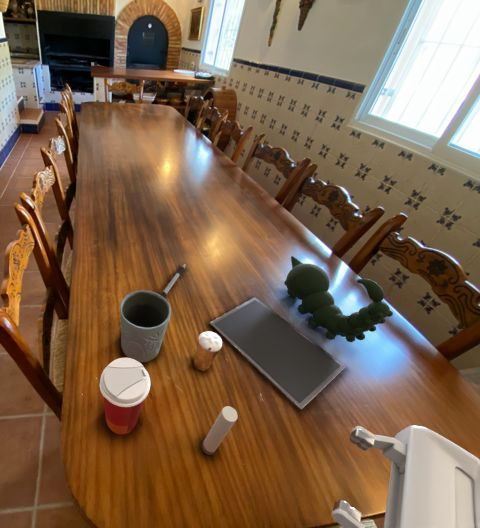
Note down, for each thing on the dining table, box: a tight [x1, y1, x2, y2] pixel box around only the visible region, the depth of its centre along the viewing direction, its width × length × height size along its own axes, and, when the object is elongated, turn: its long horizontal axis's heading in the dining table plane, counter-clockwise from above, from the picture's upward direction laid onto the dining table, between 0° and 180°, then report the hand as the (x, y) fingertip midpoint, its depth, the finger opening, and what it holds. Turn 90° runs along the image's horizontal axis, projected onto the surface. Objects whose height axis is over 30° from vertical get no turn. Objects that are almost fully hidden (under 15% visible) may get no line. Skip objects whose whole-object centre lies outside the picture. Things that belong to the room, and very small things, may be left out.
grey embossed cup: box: [119, 290, 172, 363], centre depth 62 cm, size 10×10×12 cm
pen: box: [160, 263, 186, 298], centre depth 82 cm, size 1×16×1 cm, turn 150°
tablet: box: [208, 296, 346, 412], centre depth 67 cm, size 24×17×1 cm
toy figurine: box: [283, 255, 394, 343], centre depth 70 cm, size 9×19×25 cm
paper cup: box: [98, 357, 151, 435], centre depth 49 cm, size 8×8×14 cm
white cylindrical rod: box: [201, 405, 238, 456], centre depth 46 cm, size 2×2×13 cm
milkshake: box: [193, 330, 223, 372], centre depth 59 cm, size 4×5×10 cm
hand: (345, 466), depth 33 cm, fingers open, 8 cm apart
